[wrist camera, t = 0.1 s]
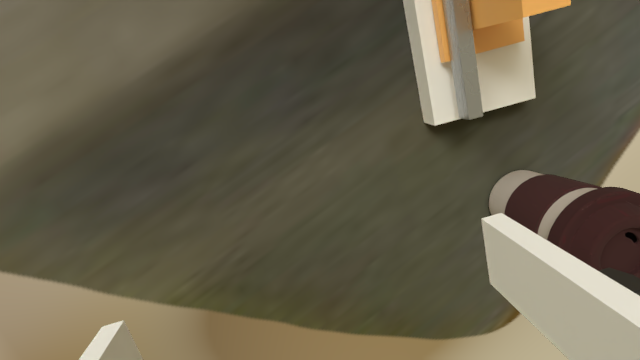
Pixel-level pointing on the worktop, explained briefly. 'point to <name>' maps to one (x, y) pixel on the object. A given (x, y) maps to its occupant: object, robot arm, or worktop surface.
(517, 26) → the plug
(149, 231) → the worktop surface
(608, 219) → the coffee cup
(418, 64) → the socket block
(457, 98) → the grey metal rod
